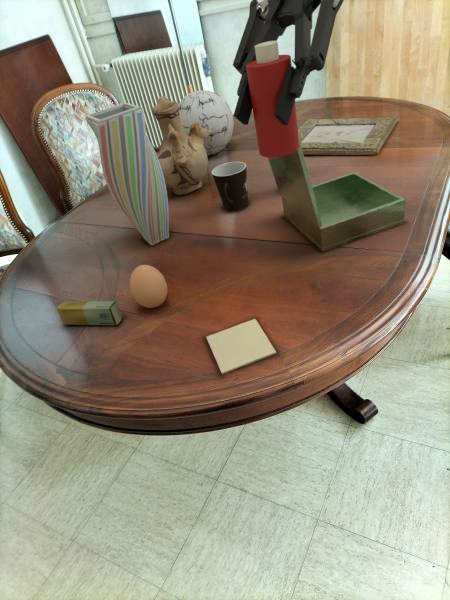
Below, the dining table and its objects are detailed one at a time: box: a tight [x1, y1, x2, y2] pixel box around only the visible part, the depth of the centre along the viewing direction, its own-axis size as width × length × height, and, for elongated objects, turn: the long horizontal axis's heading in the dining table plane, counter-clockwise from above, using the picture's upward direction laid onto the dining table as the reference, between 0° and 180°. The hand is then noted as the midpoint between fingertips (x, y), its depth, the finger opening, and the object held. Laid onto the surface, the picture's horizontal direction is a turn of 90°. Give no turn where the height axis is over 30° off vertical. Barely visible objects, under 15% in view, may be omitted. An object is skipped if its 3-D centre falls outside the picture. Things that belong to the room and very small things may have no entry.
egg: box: [129, 264, 168, 309], centre depth 78 cm, size 7×7×9 cm
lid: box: [267, 136, 322, 227], centre depth 81 cm, size 19×19×1 cm
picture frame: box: [298, 116, 398, 156], centre depth 130 cm, size 27×30×3 cm
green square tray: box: [281, 171, 406, 253], centre depth 90 cm, size 19×19×5 cm
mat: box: [205, 318, 277, 375], centre depth 67 cm, size 9×9×1 cm
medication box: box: [56, 300, 123, 327], centre depth 80 cm, size 12×3×4 cm, turn 78°
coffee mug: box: [211, 161, 249, 213], centre depth 104 cm, size 12×9×10 cm
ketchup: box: [246, 40, 299, 158], centre depth 59 cm, size 6×6×14 cm
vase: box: [84, 101, 170, 246], centre depth 94 cm, size 14×14×30 cm
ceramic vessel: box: [151, 95, 212, 196], centre depth 116 cm, size 18×19×25 cm
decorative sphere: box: [178, 89, 235, 157], centre depth 138 cm, size 20×20×20 cm
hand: (260, 119), depth 57 cm, fingers closed on ketchup, 6 cm apart
